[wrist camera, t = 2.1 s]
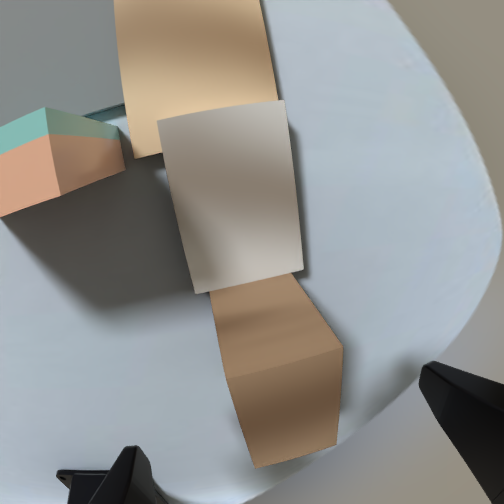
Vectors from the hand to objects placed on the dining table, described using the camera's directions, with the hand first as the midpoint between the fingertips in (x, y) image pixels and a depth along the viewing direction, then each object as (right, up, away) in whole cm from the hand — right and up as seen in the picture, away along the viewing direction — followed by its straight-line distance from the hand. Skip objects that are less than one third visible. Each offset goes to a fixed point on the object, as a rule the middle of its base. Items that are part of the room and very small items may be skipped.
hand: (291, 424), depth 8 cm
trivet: (-10, +13, -1) cm, 16 cm away
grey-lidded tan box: (-1, +4, +4) cm, 6 cm away
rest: (-3, +12, +1) cm, 12 cm away
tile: (-9, +8, +1) cm, 12 cm away
